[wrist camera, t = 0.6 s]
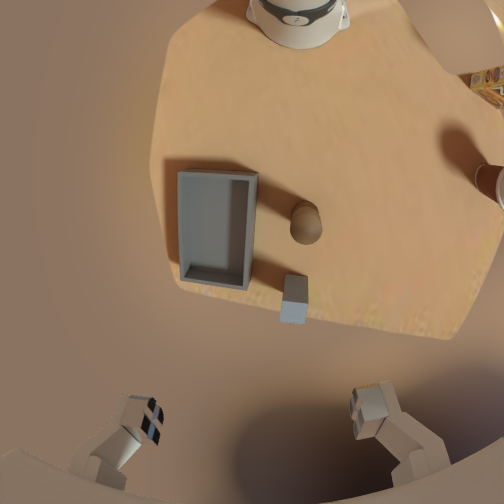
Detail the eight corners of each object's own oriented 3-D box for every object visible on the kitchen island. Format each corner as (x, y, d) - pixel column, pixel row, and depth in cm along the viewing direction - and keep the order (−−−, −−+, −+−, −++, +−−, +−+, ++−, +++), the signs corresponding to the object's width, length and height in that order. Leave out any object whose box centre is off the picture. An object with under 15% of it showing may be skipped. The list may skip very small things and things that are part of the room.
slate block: (285, 273, 57) (282, 300, 48) (307, 276, 56) (308, 303, 47) (283, 292, 59) (279, 321, 50) (304, 295, 58) (304, 324, 49)
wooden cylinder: (293, 199, 51) (291, 212, 42) (320, 202, 50) (324, 216, 42) (290, 225, 53) (288, 242, 45) (316, 228, 52) (319, 246, 44)
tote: (187, 168, 51) (177, 171, 47) (258, 172, 50) (254, 176, 45) (189, 269, 60) (180, 280, 56) (251, 278, 58) (246, 290, 54)
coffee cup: (504, 176, 39) (537, 189, 29) (485, 208, 43) (517, 226, 32) (482, 148, 39) (517, 155, 28) (463, 181, 43) (496, 195, 32)
